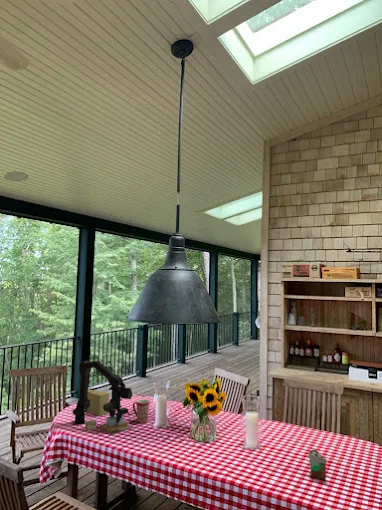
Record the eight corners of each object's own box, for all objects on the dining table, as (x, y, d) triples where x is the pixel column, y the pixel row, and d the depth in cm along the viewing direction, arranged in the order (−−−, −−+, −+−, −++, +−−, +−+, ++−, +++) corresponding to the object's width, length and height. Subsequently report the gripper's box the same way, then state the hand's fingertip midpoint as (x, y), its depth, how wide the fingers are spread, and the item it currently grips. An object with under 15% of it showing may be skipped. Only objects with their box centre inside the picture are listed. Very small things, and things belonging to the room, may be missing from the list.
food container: (304, 469, 200) (304, 448, 201) (316, 469, 200) (316, 448, 201) (314, 481, 188) (313, 459, 189) (326, 481, 188) (326, 459, 189)
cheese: (76, 411, 286) (77, 389, 288) (86, 408, 295) (87, 387, 296) (99, 417, 275) (100, 394, 276) (109, 413, 283) (109, 391, 284)
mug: (151, 421, 268) (152, 400, 269) (143, 424, 260) (143, 403, 262) (137, 417, 275) (138, 397, 276) (128, 421, 267) (129, 400, 269)
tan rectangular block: (85, 428, 251) (85, 421, 252) (92, 426, 255) (92, 419, 256) (88, 430, 249) (89, 422, 249) (96, 428, 253) (96, 420, 253)
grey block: (106, 425, 251) (106, 416, 251) (119, 421, 258) (119, 413, 258) (110, 426, 248) (110, 418, 248) (123, 423, 255) (124, 415, 255)
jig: (97, 429, 251) (97, 424, 251) (117, 423, 263) (117, 418, 263) (111, 434, 242) (112, 429, 242) (131, 428, 254) (131, 423, 254)
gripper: (96, 397, 254) (95, 422, 253) (115, 402, 242) (114, 429, 241) (110, 393, 262) (109, 418, 261) (129, 399, 250) (128, 424, 249)
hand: (114, 422), depth 253 cm, fingers closed on grey block, 4 cm apart
